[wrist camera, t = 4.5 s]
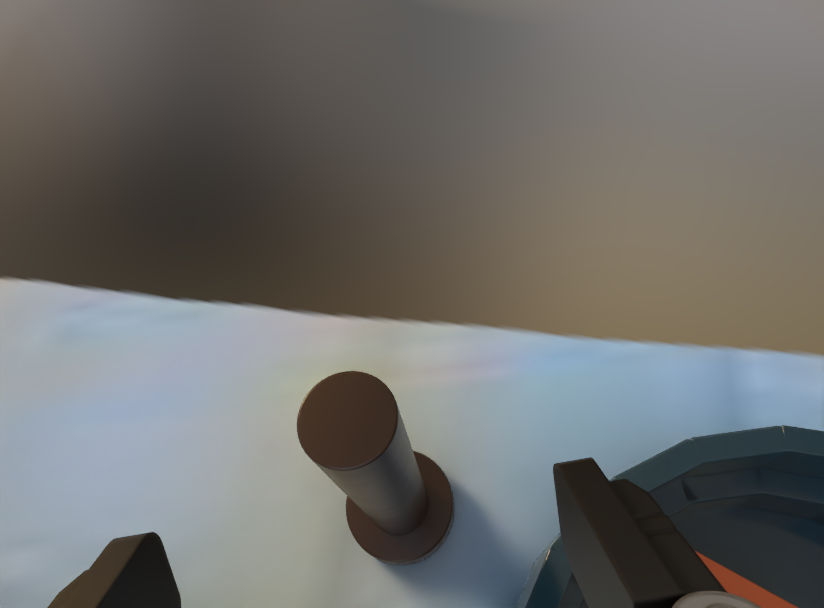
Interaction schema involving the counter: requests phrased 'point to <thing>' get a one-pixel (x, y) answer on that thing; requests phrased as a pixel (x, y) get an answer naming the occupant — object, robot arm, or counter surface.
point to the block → (744, 586)
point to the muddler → (376, 468)
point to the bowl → (727, 513)
